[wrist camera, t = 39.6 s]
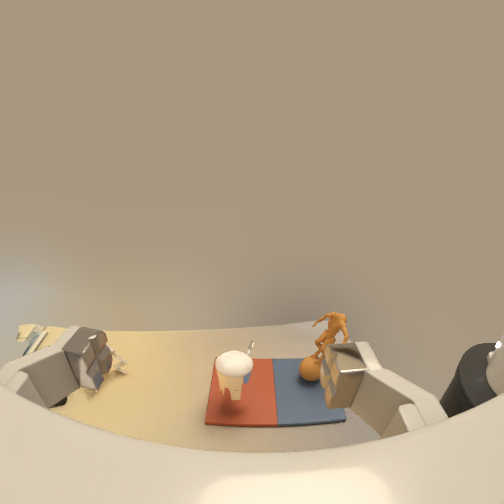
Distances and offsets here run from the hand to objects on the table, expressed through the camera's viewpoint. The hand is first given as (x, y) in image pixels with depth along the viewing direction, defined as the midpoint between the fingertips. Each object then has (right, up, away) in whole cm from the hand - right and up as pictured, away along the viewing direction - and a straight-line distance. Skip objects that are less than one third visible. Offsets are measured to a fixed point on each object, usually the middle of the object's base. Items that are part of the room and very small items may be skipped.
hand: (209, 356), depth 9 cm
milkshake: (-1, -17, +25) cm, 30 cm away
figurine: (+11, -16, +30) cm, 36 cm away
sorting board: (+5, -17, +28) cm, 33 cm away
